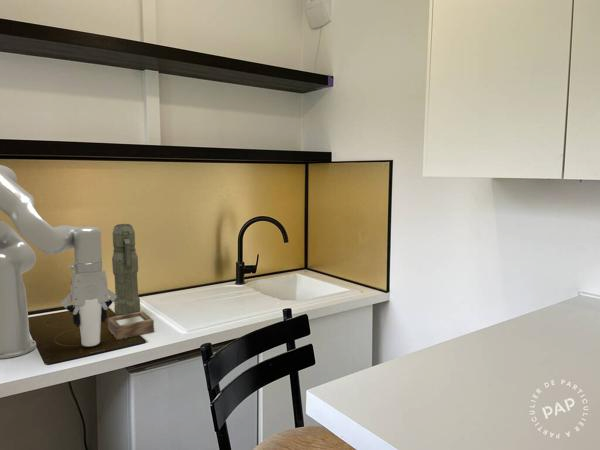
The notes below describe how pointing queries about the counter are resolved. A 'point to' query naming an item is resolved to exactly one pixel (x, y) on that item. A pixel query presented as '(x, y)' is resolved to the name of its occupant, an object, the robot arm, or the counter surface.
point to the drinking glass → (90, 322)
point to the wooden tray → (130, 325)
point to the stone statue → (125, 270)
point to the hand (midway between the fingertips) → (90, 323)
